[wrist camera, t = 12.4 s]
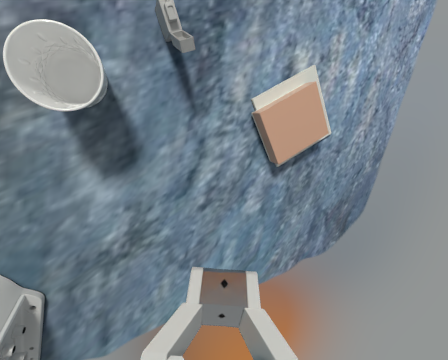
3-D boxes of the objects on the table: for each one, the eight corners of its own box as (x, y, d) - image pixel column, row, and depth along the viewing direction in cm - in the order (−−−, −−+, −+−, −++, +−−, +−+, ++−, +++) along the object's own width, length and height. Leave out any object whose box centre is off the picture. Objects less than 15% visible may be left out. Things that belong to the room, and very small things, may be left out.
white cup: (46, 37, 28) (3, 3, 19) (115, 59, 31) (108, 38, 22) (42, 102, 30) (1, 99, 21) (109, 117, 33) (98, 119, 24)
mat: (276, 166, 45) (277, 167, 45) (250, 99, 39) (252, 99, 39) (329, 133, 48) (331, 133, 47) (312, 65, 42) (315, 64, 41)
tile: (278, 164, 41) (328, 133, 43) (259, 113, 37) (316, 81, 39) (269, 161, 44) (317, 131, 46) (251, 113, 40) (304, 83, 42)
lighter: (154, 8, 31) (159, -22, 24) (166, 6, 31) (175, -25, 24) (173, 64, 34) (183, 52, 27) (184, 61, 34) (196, 48, 27)
